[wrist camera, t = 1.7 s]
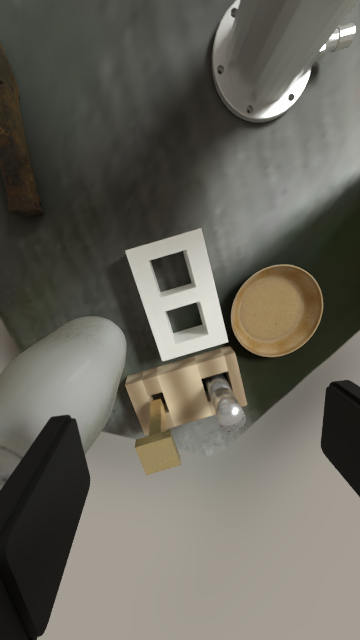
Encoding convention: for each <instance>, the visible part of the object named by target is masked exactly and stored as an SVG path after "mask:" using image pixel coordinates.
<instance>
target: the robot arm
mask: <svg viewBox="0 0 360 640" xmlns="http://www.w3.org/2000/svg"><path fill="white" fill-rule="evenodd" d="M358 1H359V0H235V2H234V3H233V4H232V5H231V6H230V7H229V8H228V9H227V11H226V13H225V14H224V16H223V18H222V19H221V22H220V24H219V27H218V29H217V32H216V36H215V39H214V43H213V50H212V74H213V80H214V83H215V87H216V90H217V92H218V94H219V96H220V98H221V100H222V101H223V103H224V104H225V105H226V107H227V108H228V109H229V110H230V111H231V112H232V113H233V114H234V115H236V116H238V117H239V118H241V119H243V120H246V121H249V122H255V123H262V122H268V121H271V120H274V119H276V118H278V117H280V116H281V115H283V114H284V113H286V112H287V111H288V110H289V109H290V108H291V107H292V106H293V104H294V103H295V102H296V101H297V100H298V98H299V97H300V96H301V94H302V92H303V90H304V89H305V87H306V85H307V82H308V79H309V77H310V73H311V69H312V65H313V63H314V62H315V61H316V60H319V59H321V58H323V57H324V55H325V53H328V52H334V51H338V50H341V49H344V48H348V47H349V46H350V44H351V43H352V41H353V38H354V35H355V25H354V23H349V24H345V25H342V26H339V25H340V24H341V23H342V22H343V20H344V19H345V18H346V16H347V15H348V14H349V13H350V11H351V10H352V9H353V7H354V6H355V5H356V4H357V2H358ZM219 73H220V74H219ZM247 112H249V113H247ZM321 448H322V451H323V453H324V454H325V456H326V457H327V458H328V459H329V461H330V462H331V463H332V464H333V465H334V467H335V468H336V469H337V470H338V471H339V472H340V474H341V475H342V476H343V477H344V479H345V480H346V481H347V482H348V483H349V485H350V486H351V487H352V488H353V489H354V491H355V492H356V493H357V494H358V495H359V497H360V387H359V386H358V385H356V384H355V383H353V382H351V381H349V380H344V381H335V382H332V383H330V385H329V387H327V388H326V396H325V407H324V417H323V427H322V438H321ZM89 487H90V475H89V470H88V466H87V462H86V459H85V454H84V450H83V446H82V442H81V437H80V433H79V429H78V425H77V421H76V419H75V418H71V416H70V415H61V416H53V417H51V418H50V419H49V420H48V422H47V423H46V425H45V426H44V427H43V429H42V430H41V432H40V433H39V435H38V436H37V438H36V439H35V441H34V442H33V444H32V445H31V446H30V448H29V449H28V451H27V452H26V454H25V455H24V457H23V458H22V460H21V461H20V463H19V464H18V465H17V467H16V468H15V470H14V471H13V472H12V474H11V475H10V477H9V478H8V480H7V481H6V483H5V484H4V486H3V487H2V489H1V490H0V640H37V637H39V636H41V635H43V633H44V631H45V629H46V627H47V624H48V621H49V618H50V615H51V612H52V608H53V605H54V602H55V598H56V595H57V592H58V589H59V585H60V582H61V579H62V576H63V572H64V569H65V566H66V562H67V559H68V556H69V553H70V549H71V546H72V543H73V540H74V536H75V533H76V530H77V526H78V523H79V520H80V517H81V514H82V510H83V507H84V503H85V500H86V497H87V494H88V491H89Z"/></svg>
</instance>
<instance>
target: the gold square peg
mask: <svg viewBox="0 0 360 640" xmlns="http://www.w3.org/2000/svg"><path fill="white" fill-rule="evenodd" d="M135 449H136V451H137V454H138V456H139V458H140V461H141V463H142V465H143V468H144V470H145V472H146V475H149V474H152V473H155V472H159V471H162V470H165V469H169V468H172V467H175V466H179V465H181V461H180V455H179V452H178V450H177V447H176V444H175V441H174V438H173V436H172V433H171V430H167V415H166V412H165V409H164V406H163V403H162V401H161V398H160V399H157V400H154V401H151V408H150V424H149V436H147V437H144V438H140V439H137V440H136V443H135Z"/></svg>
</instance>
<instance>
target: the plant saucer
mask: <svg viewBox="0 0 360 640" xmlns="http://www.w3.org/2000/svg"><path fill="white" fill-rule="evenodd" d="M322 311H323V299H322V293H321V290H320V287H319V285H318V284H317V282H316V280H315V279H314V278H313V277H312V276H311V275H310V274H309V273H308V272H306V271H305V270H303V269H301V268H299V267H296V266H292V265H275V266H271V267H267V268H265V269H262V270H260V271H258V272H257V273H255V274H254V275H252V276H251V277H250V278H249V279H248V280H247V281H246V282H245V283H244V284H243V285H242V287H241V288H240V290H239V291H238V293H237V295H236V297H235V299H234V302H233V305H232V310H231V324H232V329H233V332H234V334H235V336H236V338H237V340H238V341H239V342H240V344H241V345H242V346H243V347H244V348H246V349H247V350H248V351H250V352H252V353H254V354H256V355H259V356H264V357H277V356H283V355H286V354H289V353H291V352H293V351H295V350H296V349H298V348H300V347H301V346H302V345H304V344H305V343H306V342H307V341H308V340H309V339H310V337H311V336H312V335H313V334H314V332H315V331H316V329H317V327H318V325H319V322H320V320H321V316H322Z"/></svg>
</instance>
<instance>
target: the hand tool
mask: <svg viewBox="0 0 360 640" xmlns="http://www.w3.org/2000/svg"><path fill="white" fill-rule="evenodd" d="M19 99H20V93H19V89H18V86H17V83H16V79H15V76H14V73H13V71H12V69H11V66H10V64H9V61H8V59H7V56H6V54H5V52H4V50H3V47H2V45H1V43H0V168H1V172H2V176H3V180H4V184H5V189H6V192H7V197H8V206H7V208H6V210H7V212H9V213H13V214H16V215H25V216H28V215H41V214H44V213H45V212H44V210H43V209H42V208H41V207H40V204H41V199H40V196H39V195H38V193H37V188H36V182H35V176H34V171H33V168H32V165H31V160H30V152H29V149H28V145H27V139H26V135H25V131H24V126H23V121H22V116H21V111H20V106H19Z"/></svg>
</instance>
